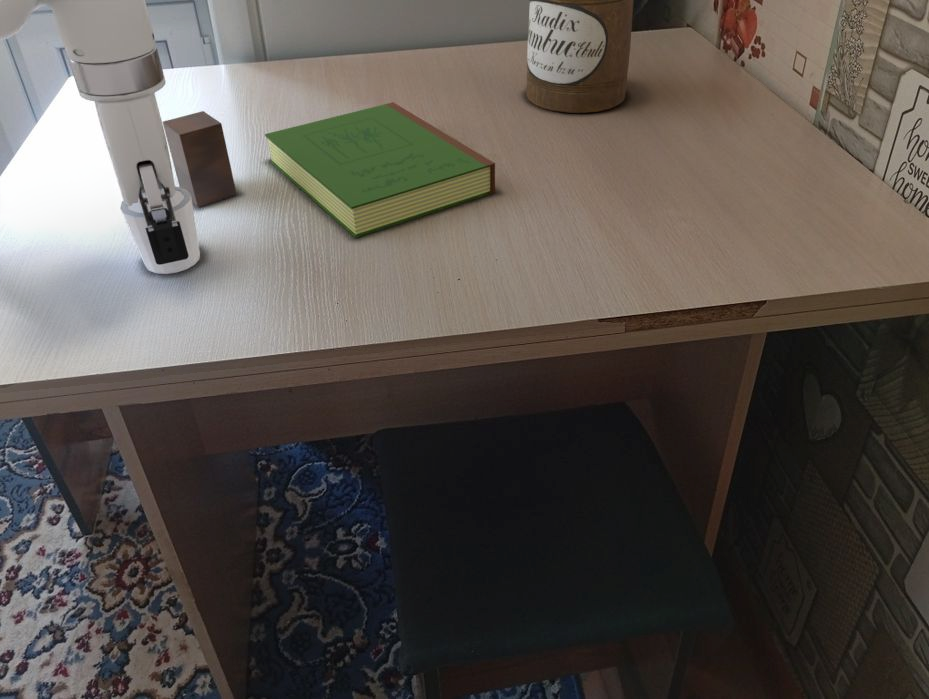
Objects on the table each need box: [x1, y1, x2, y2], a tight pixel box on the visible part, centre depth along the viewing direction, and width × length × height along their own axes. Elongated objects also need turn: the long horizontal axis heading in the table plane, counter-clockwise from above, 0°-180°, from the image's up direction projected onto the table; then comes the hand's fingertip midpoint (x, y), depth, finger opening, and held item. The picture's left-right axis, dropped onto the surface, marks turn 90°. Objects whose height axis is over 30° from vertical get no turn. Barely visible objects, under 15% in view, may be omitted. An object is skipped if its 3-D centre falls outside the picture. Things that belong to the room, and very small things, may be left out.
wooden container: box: [526, 0, 634, 114], centre depth 112 cm, size 15×15×22 cm
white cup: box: [119, 185, 201, 275], centre depth 81 cm, size 7×7×7 cm
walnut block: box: [162, 110, 238, 208], centre depth 92 cm, size 5×5×9 cm
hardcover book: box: [264, 101, 496, 239], centre depth 97 cm, size 25×19×4 cm
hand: (167, 242), depth 82 cm, fingers closed on white cup, 6 cm apart
